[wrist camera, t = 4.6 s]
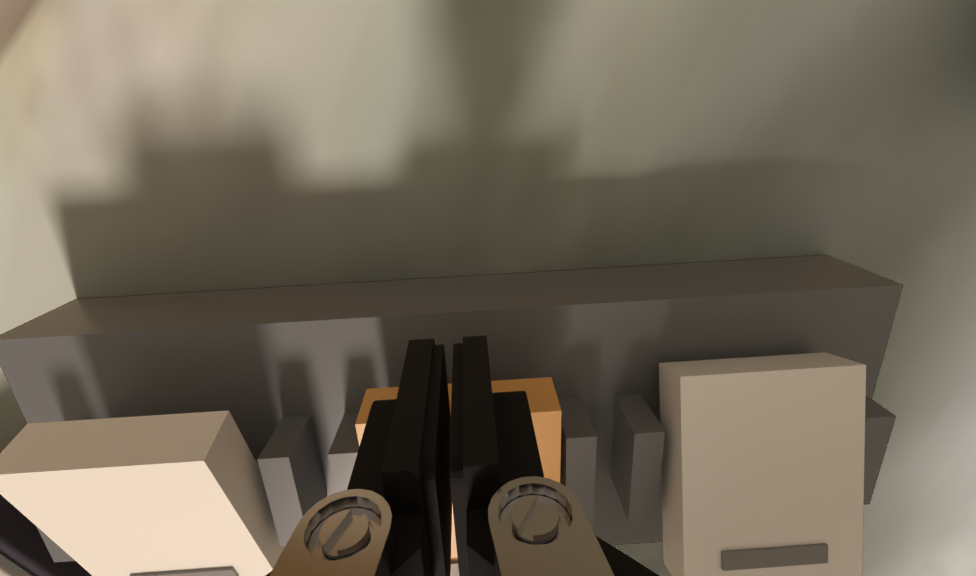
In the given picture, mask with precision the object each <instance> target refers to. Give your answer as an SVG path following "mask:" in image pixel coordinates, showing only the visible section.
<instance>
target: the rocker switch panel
mask: <svg viewBox="0 0 976 576" xmlns="http://www.w3.org/2000/svg"><path fill="white" fill-rule="evenodd" d="M902 288H903V285H902V284H899V283H897V282H894V281H892V280H889V279H887V278H884V277H882V276H879V275H877V274H874V273H871V272H869V271H866V270H864V269H861V268H859V267H856V266H854V265H851V264H849V263H846V262H843V261H841V260H838V259H836V258H833V257H831V256H828V255H816V256H799V257H782V258H765V259H747V260H730V261H713V262H696V263H679V264H662V265H645V266H628V267H611V268H594V269H577V270H560V271H543V272H526V273H509V274H492V275H475V276H458V277H441V278H424V279H407V280H390V281H373V282H356V283H339V284H322V285H305V286H288V287H271V288H254V289H237V290H220V291H203V292H186V293H169V294H152V295H135V296H118V297H101V298H84V299H75V300H73V301H70V302H68V303H66V304H64V305H62V306H60V307H58V308H56V309H54V310H52V311H49V312H47V313H45V314H43V315H41V316H39V317H37V318H35V319H33V320H30V321H28V322H26V323H24V324H22V325H20V326H18V327H16V328H14V329H12V330H9V331H7V332H5V333H3V334H1V335H0V366H1V368H2V370H3V373H4V375H5V377H6V379H7V381H8V383H9V386H10V388H11V390H12V392H13V394H14V396H15V398H16V401H17V403H18V405H19V407H20V409H21V411H22V414H23V416H24V418H25V420H26V422H27V424H28V423H43V422H59V421H74V420H90V419H105V418H120V417H136V416H151V415H167V414H182V413H198V412H213V411H229V412H230V413H231V415H232V417H233V419H234V421H235V423H236V425H237V427H238V429H239V430H240V432H241V434H242V436H243V438H244V440H245V442H246V444H247V445H248V447H249V449H250V451H251V453H252V455H253V457H254V459H255V461H256V462H257V464H258V466H259V468H260V472H261V475H262V479H263V483H264V486H265V490H266V494H267V498H268V501H269V505H270V509H271V512H272V516H273V520H274V524H275V527H276V531H277V535H278V538H279V542H280V546H286V544H287V542H288V541H289V539H290V537H291V535H292V533H293V531H294V530H295V528H296V526H297V524H298V523H299V521H300V520H301V519H302V517H303V516H304V514H305V513H306V512H307V511H308V510H309V509H310V508H311V507H313V506H314V505H315V504H316V503H317V502H319V501H320V500H322V499H324V498H326V497H328V496H329V495H331V494H334V493H337V492H341V491H344V490H347V488H348V484H349V481H350V477H351V474H352V471H353V467H354V464H355V460H356V457H357V453H358V450H359V442H358V437H357V432H356V427H355V423H356V420H357V417H358V414H359V411H360V408H361V405H362V402H363V398H364V395H365V392H366V389H372V388H388V387H399V385H400V380H401V375H402V371H403V366H404V361H405V357H406V352H407V347H408V343H409V340H419V339H434V340H435V345H441V344H444V349H445V360H446V371H447V382H448V384H450V383H452V367H453V344H457V343H463V337H467V336H483V335H487V345H488V355H489V365H490V375H491V381H497V380H513V379H528V378H544V377H552V381H553V384H554V387H555V391H556V394H557V397H558V401H559V404H560V407H561V463H560V483H561V484H563V485H564V486H565V487H567V488H568V489H569V490H570V491H572V492H573V494H574V495H575V497H576V498H577V499H578V501H579V502H580V504H581V506H582V508H583V511H584V513H585V515H586V517H587V519H588V521H589V523H590V525H591V527H592V530H593V532H594V534H595V535H596V536H597V537H599V538H600V539H602V540H603V541H605V542H607V543H608V544H610V545H623V544H637V543H651V542H663V522H662V479H661V466H662V456H663V446H664V437H665V431H664V430H663V428H662V426H661V425H660V393H659V363H665V362H681V361H697V360H712V359H728V358H744V357H759V356H775V355H791V354H806V353H822V352H826V353H829V354H833V355H836V356H839V357H842V358H846V359H849V360H852V361H855V362H859V363H862V364H865V365H866V399H865V451H864V503H863V505H864V504H870V501H871V497H872V494H873V491H874V487H875V484H876V481H877V477H878V474H879V471H880V467H881V464H882V461H883V457H884V454H885V451H886V448H887V444H888V441H889V438H890V434H891V431H892V428H893V424H894V421H895V418H896V416H895V415H893V414H892V413H890V412H889V411H888V410H886V409H885V408H883V407H882V406H881V405H879V404H878V403H876V402H875V401H873V400H872V396H873V393H874V389H875V385H876V382H877V378H878V375H879V371H880V367H881V364H882V360H883V356H884V353H885V349H886V346H887V342H888V338H889V335H890V331H891V328H892V324H893V320H894V317H895V313H896V309H897V306H898V302H899V299H900V295H901V291H902ZM36 527H37V526H36ZM37 529H38V531H39V533H40V535H41V537H42V539H43V541H44V543H45V545H46V547H47V549H48V551H49V553H50V555H51V557H52V559H53V561H54V562H68V561H75V560H74V559H73V558H72V557H71V556H69V555H68V554H67V553H66V552H65V551H64V550H63V549H62V548H60V547H59V546H58V545H57V544H56V543H55V542H54V541H52V540H51V539H50V538H49V537H48V536H47V535H46V534H45V533H43V532H42V531H41V530H40V529H39V528H38V527H37Z"/></svg>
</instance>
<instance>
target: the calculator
mask: <svg viewBox="0 0 976 576" xmlns="http://www.w3.org/2000/svg"><path fill="white" fill-rule="evenodd" d="M0 576H92V575H91V574H90V573H89V572H87V571H86V570H85V569H84V568H83V567H82V566H81V565H80V564H78V563H77V562H76V561H68V562H54V561H53V559H52V557H51V555H50V553H49V551H48V549H47V547H46V545H45V543H44V541H43V539H42V537H41V535H40V533H39V531H38V529H37V527H36V525H34V524H33V523H32V522H31V521H30V520H29V519H28V518H27V517H25V516H24V515H23V514H22V513H21V512H20V511H19V510H18V509H16V508H15V507H14V506H13V505H12V504H11V503H10V502H9V501H7V500H6V499H5V498H4V497H3V496H2V495H1V494H0Z"/></svg>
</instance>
